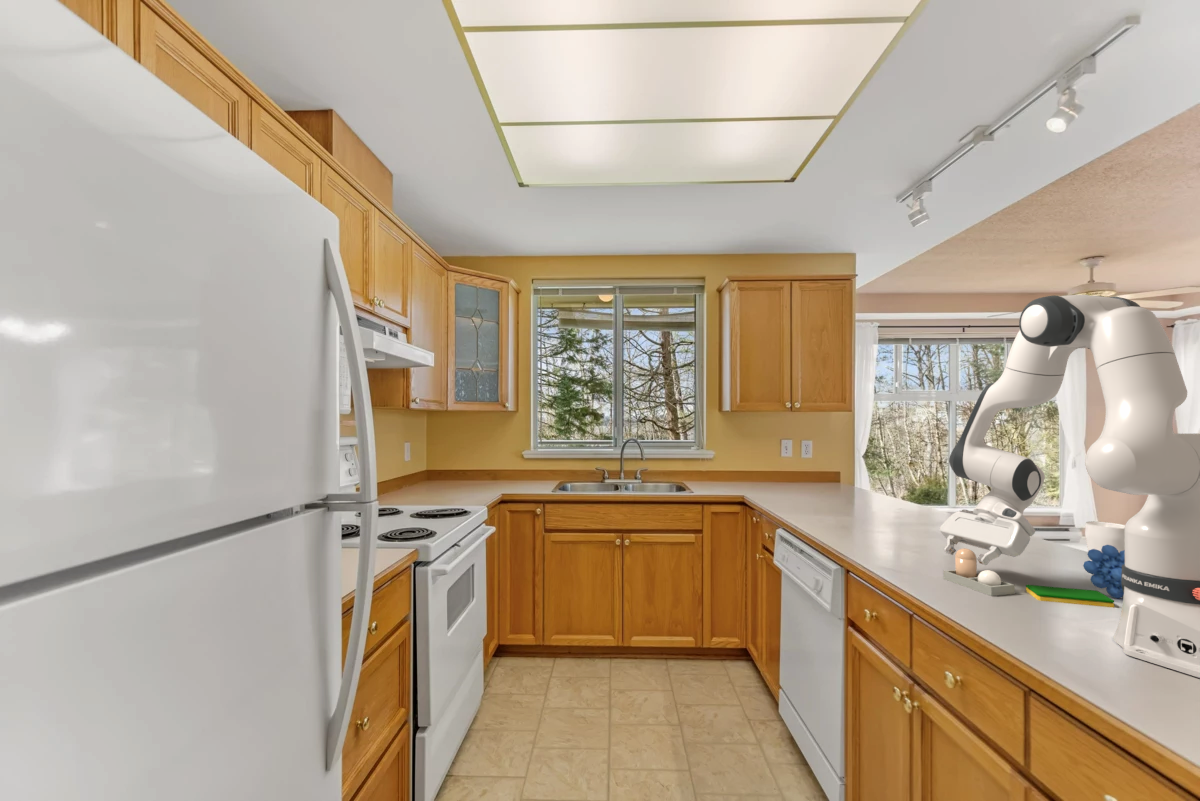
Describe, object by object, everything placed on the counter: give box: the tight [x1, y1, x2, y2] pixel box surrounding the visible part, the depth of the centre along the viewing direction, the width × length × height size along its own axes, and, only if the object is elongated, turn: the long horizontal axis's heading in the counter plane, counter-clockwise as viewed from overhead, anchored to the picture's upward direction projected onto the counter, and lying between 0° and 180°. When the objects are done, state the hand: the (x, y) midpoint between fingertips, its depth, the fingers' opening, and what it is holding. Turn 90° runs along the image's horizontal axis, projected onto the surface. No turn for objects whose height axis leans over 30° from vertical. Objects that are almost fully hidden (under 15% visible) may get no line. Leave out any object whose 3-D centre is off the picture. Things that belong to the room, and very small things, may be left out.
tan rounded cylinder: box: [954, 547, 978, 578], centre depth 137 cm, size 4×4×8 cm
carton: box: [942, 569, 1016, 597], centre depth 134 cm, size 13×7×2 cm, turn 14°
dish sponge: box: [1025, 584, 1115, 608], centre depth 125 cm, size 7×14×2 cm, turn 71°
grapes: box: [1082, 545, 1125, 599], centre depth 126 cm, size 12×7×12 cm, turn 57°
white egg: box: [978, 569, 1002, 586], centre depth 131 cm, size 5×5×5 cm
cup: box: [1084, 520, 1126, 561], centre depth 149 cm, size 9×9×12 cm
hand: (964, 557), depth 137 cm, fingers open, 8 cm apart
